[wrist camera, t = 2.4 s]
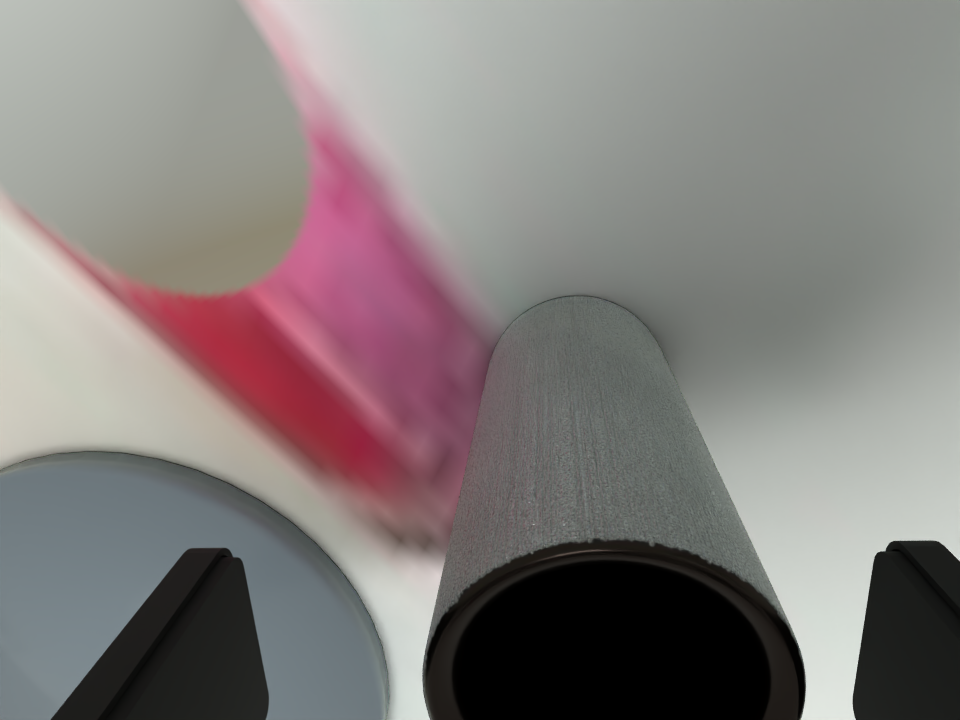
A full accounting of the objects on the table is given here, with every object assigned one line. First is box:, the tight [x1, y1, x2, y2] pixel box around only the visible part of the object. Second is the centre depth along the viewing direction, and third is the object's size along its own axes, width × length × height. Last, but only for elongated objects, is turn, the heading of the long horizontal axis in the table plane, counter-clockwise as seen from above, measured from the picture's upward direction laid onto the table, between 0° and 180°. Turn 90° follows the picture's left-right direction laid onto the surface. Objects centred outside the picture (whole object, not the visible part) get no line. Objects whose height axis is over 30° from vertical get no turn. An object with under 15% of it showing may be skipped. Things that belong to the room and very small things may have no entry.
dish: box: [0, 452, 389, 720], centre depth 22 cm, size 16×16×1 cm
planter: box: [422, 296, 806, 720], centre depth 13 cm, size 4×4×10 cm
